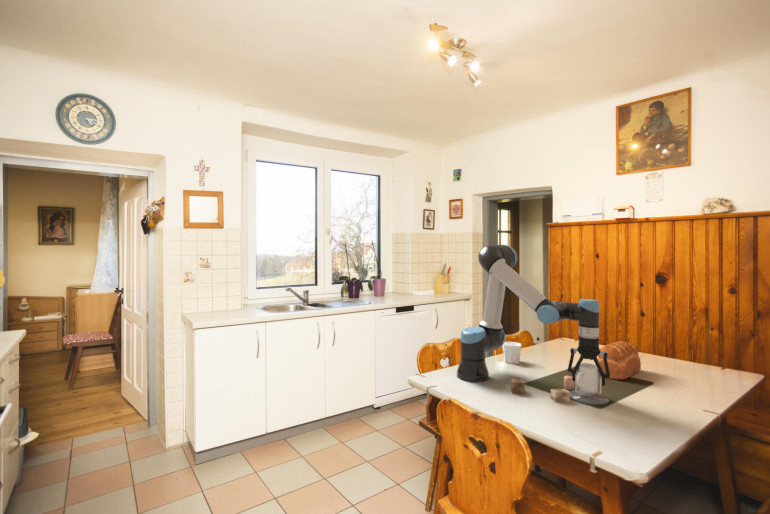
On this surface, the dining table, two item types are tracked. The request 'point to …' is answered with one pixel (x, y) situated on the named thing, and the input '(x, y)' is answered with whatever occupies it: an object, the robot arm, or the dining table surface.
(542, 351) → the dining table surface
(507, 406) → the dining table surface
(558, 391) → the beech block
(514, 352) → the cup
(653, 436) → the dining table surface
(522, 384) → the walnut block
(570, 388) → the peach egg shape
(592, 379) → the mug
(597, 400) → the gray plate
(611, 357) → the bread
